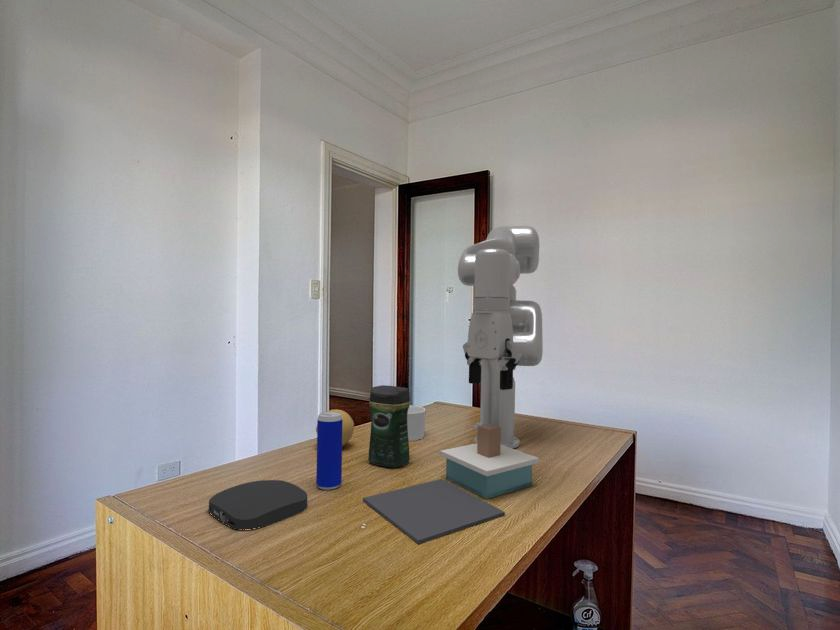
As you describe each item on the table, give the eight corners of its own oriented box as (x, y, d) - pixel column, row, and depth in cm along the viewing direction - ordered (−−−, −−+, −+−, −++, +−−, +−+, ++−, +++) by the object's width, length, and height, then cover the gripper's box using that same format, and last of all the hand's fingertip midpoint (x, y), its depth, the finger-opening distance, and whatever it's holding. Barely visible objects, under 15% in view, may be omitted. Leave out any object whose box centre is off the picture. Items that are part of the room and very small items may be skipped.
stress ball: (346, 456, 116) (367, 426, 122) (322, 431, 112) (345, 401, 118) (325, 453, 123) (346, 425, 129) (302, 429, 119) (325, 401, 125)
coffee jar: (414, 461, 110) (415, 385, 110) (397, 471, 103) (398, 390, 103) (381, 454, 115) (382, 382, 115) (362, 463, 108) (364, 386, 108)
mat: (362, 501, 87) (362, 498, 87) (441, 481, 97) (441, 478, 97) (418, 544, 71) (418, 540, 71) (504, 515, 82) (504, 511, 82)
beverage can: (345, 483, 95) (347, 412, 95) (333, 492, 91) (334, 417, 90) (324, 479, 97) (325, 410, 97) (311, 488, 92) (312, 415, 92)
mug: (425, 442, 127) (425, 413, 127) (387, 441, 127) (388, 412, 127) (425, 429, 140) (425, 403, 140) (391, 428, 140) (392, 403, 140)
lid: (440, 455, 99) (440, 423, 99) (490, 444, 108) (490, 415, 108) (486, 476, 87) (487, 440, 87) (539, 462, 96) (539, 429, 96)
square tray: (446, 478, 99) (446, 455, 99) (489, 467, 107) (489, 446, 107) (486, 499, 89) (486, 473, 88) (531, 485, 96) (532, 462, 96)
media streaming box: (315, 508, 84) (316, 492, 84) (241, 538, 73) (241, 519, 73) (272, 487, 93) (272, 473, 93) (200, 510, 82) (201, 494, 82)
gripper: (452, 306, 102) (451, 381, 102) (508, 305, 88) (506, 393, 88) (477, 307, 106) (476, 379, 106) (534, 307, 92) (532, 390, 92)
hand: (489, 386), depth 97 cm, fingers open, 9 cm apart
